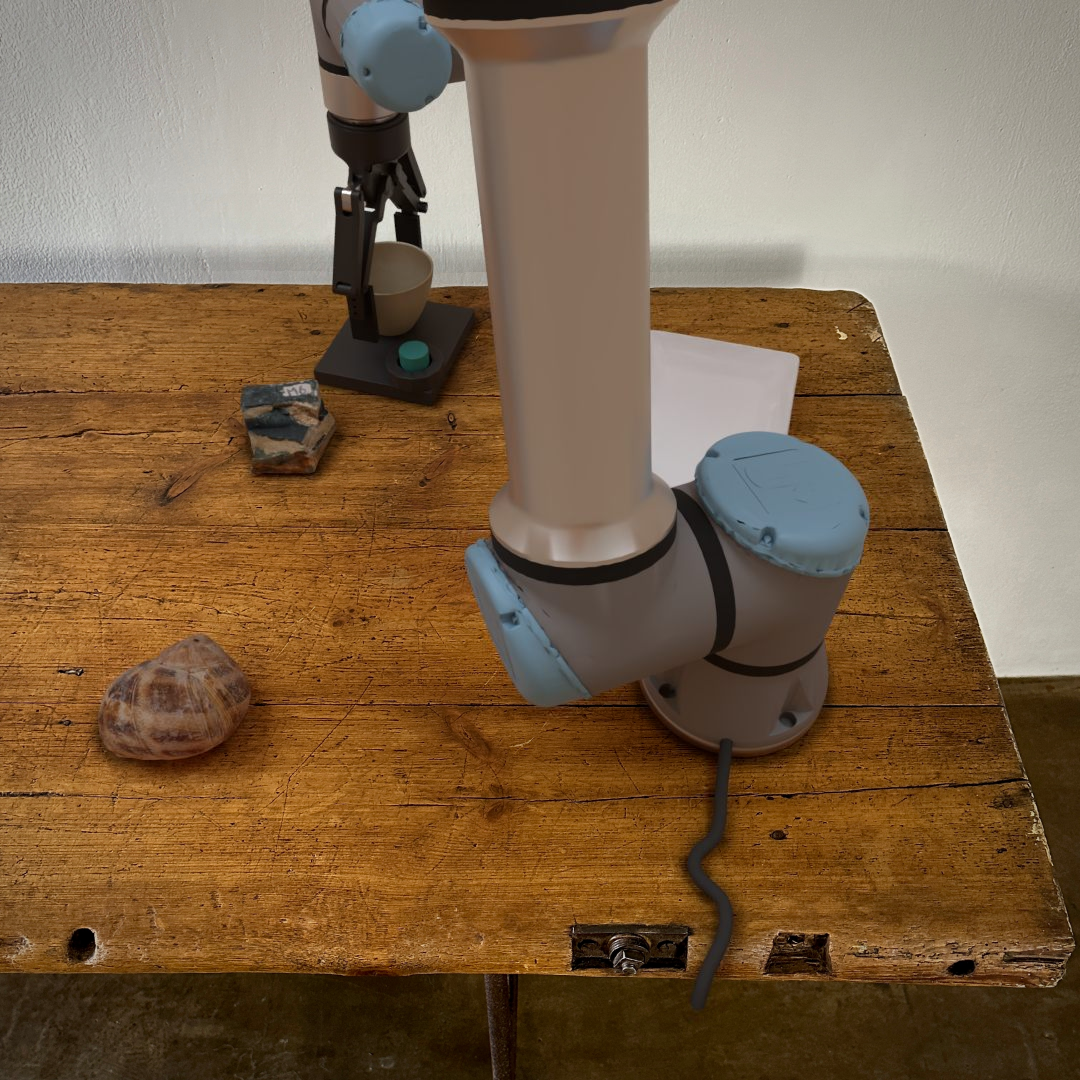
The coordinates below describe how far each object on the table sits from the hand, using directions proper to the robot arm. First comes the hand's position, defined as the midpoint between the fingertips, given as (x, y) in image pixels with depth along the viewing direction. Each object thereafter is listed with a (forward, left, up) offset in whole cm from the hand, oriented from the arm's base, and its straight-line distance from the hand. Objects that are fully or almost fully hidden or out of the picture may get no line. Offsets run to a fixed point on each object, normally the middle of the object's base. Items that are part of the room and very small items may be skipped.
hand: (389, 302), depth 105 cm
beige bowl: (0, 0, -3) cm, 3 cm away
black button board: (-2, -1, -4) cm, 5 cm away
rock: (-19, +4, -5) cm, 20 cm away
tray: (-10, -35, -5) cm, 37 cm away
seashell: (-50, -1, -5) cm, 51 cm away
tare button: (-7, -5, -1) cm, 9 cm away
